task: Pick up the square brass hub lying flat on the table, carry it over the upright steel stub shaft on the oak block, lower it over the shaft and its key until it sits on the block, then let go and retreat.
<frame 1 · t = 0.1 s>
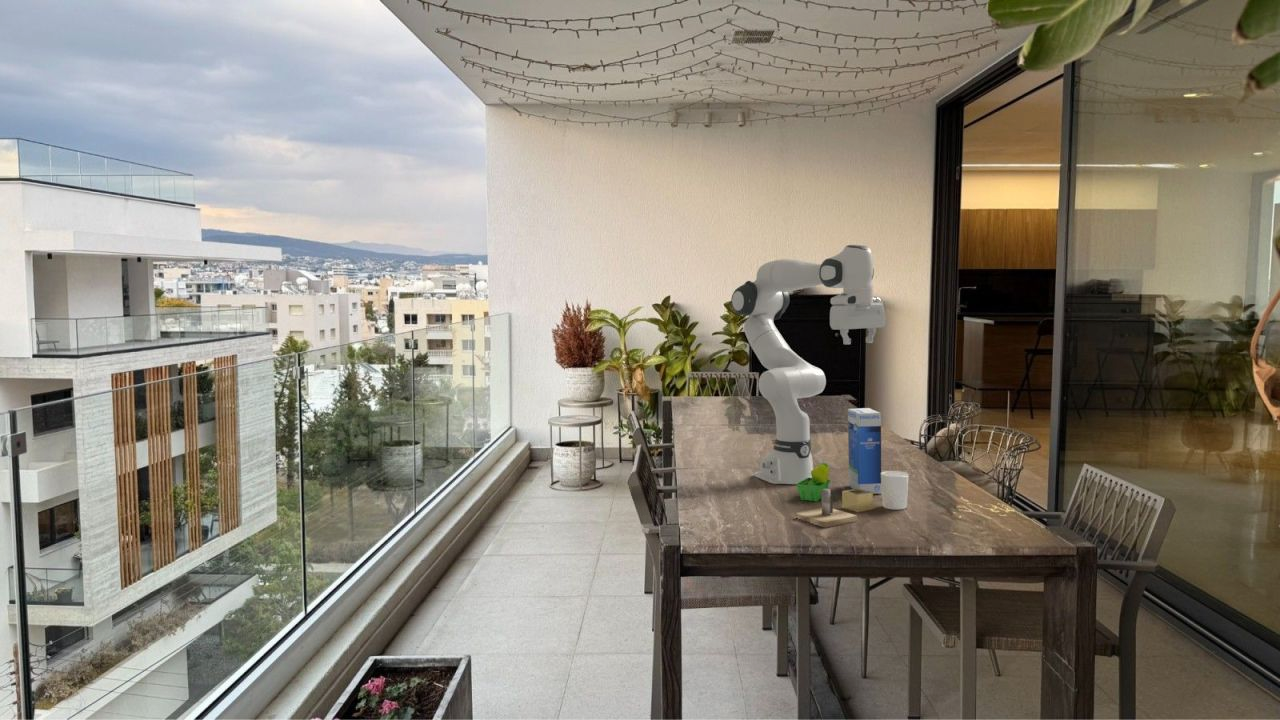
hand: (858, 343, 255), 48 cm above the table, tool pointing down, fingers open, 8 cm apart
shaft block: (826, 519, 234), on the table
hub: (857, 508, 246), on the table
string lights box: (864, 490, 269), on the table
white cup: (894, 507, 246), on the table
fruit basket: (815, 498, 260), on the table
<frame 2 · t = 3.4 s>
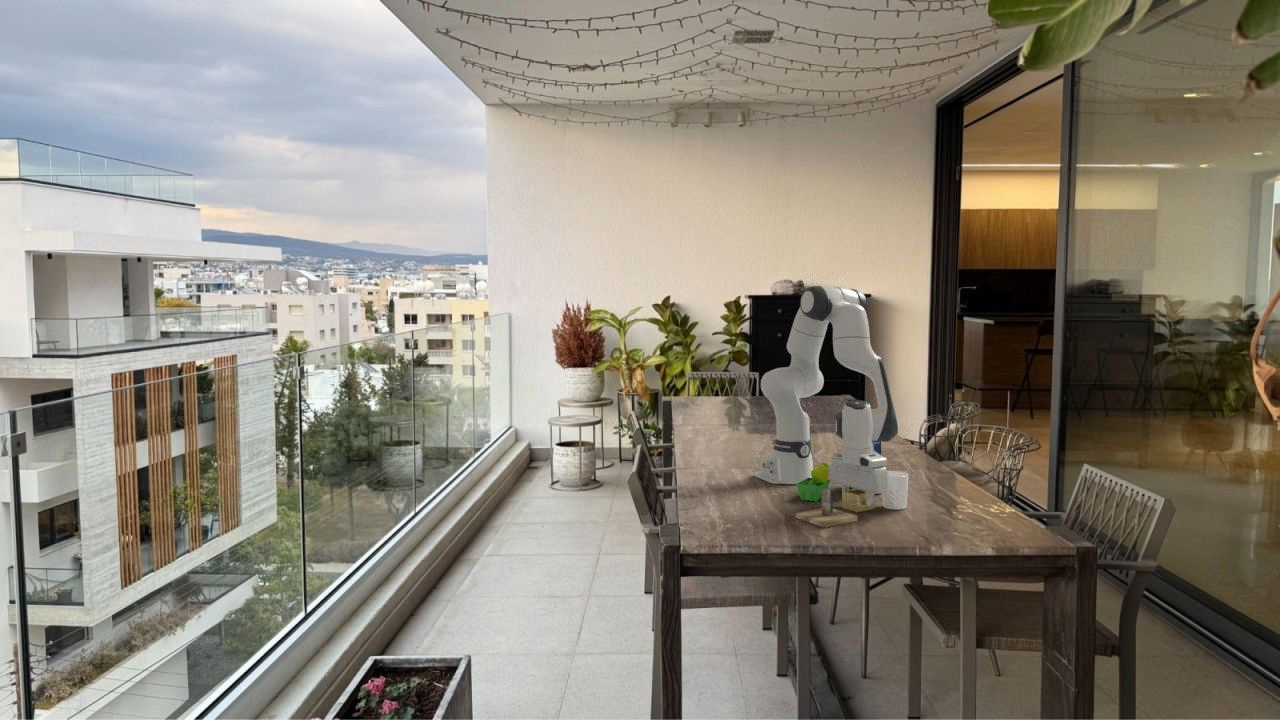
hand: (857, 502, 246), 2 cm above the table, tool pointing down, fingers closed on hub, 6 cm apart
hub: (857, 508, 246), on the table, touching gripper
everything else where it was.
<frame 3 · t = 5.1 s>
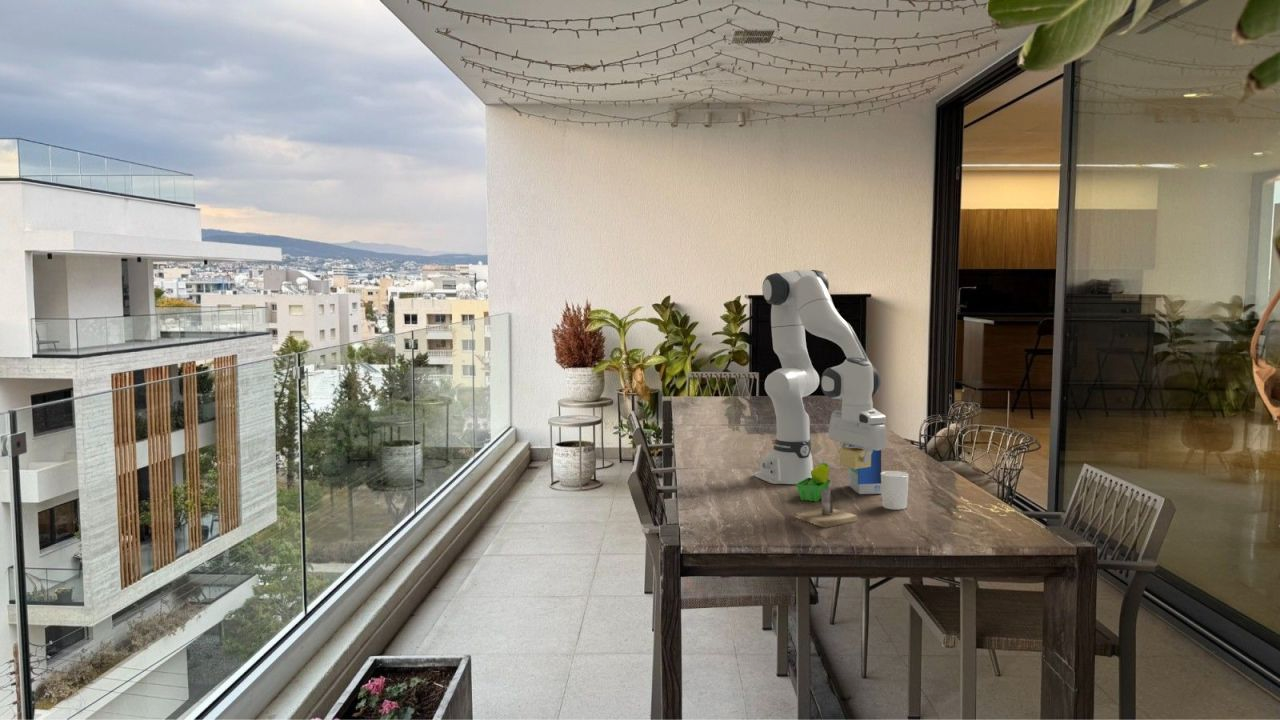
hand: (855, 460, 245), 14 cm above the table, tool pointing down, fingers closed on hub, 6 cm apart
hub: (855, 465, 245), point 13 cm above the table, touching gripper
everything else where it was.
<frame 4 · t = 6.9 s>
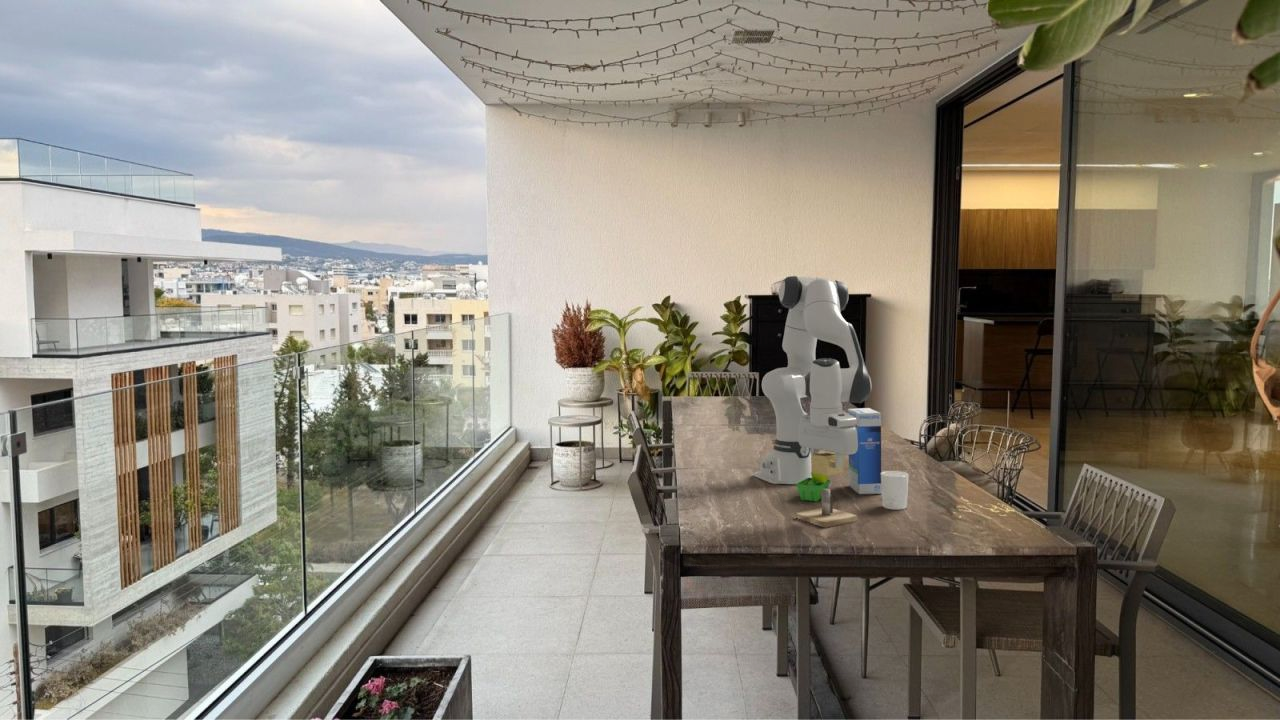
hand: (827, 466, 233), 15 cm above the table, tool pointing down, fingers closed on hub, 6 cm apart
hub: (827, 472, 233), point 13 cm above the table, touching gripper
everything else where it was.
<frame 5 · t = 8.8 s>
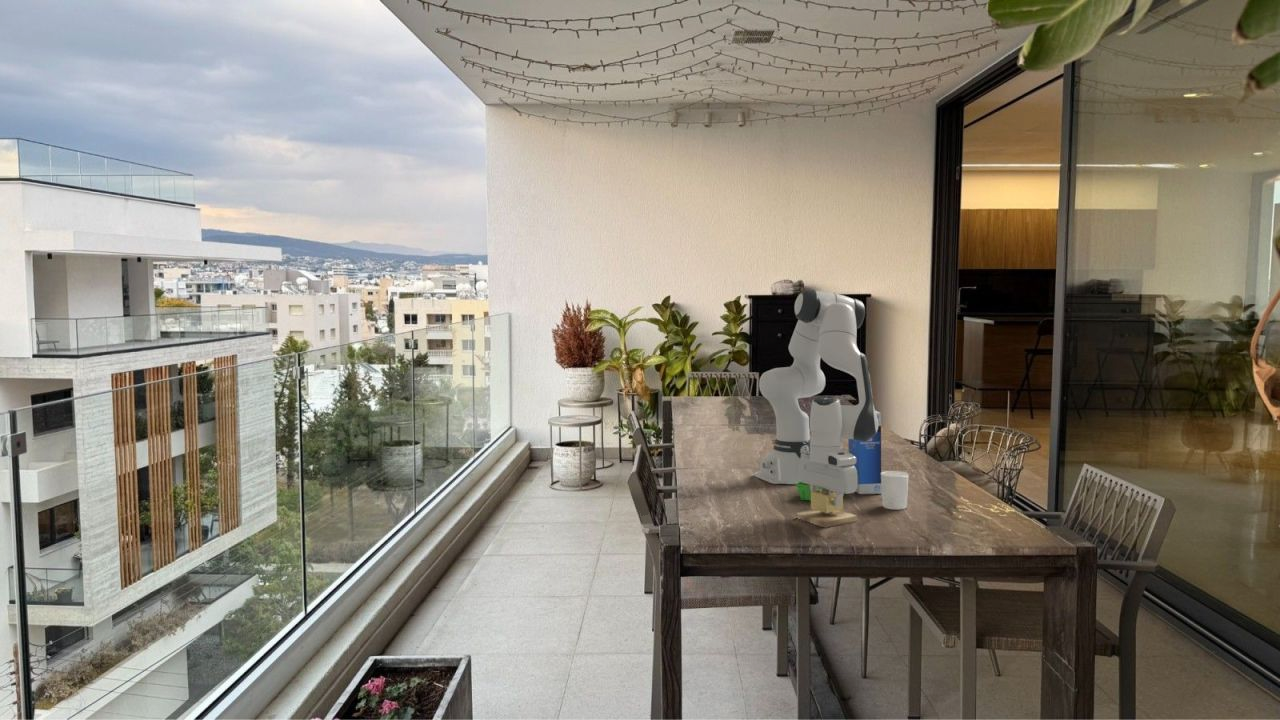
hand: (826, 503, 234), 5 cm above the table, tool pointing down, fingers closed on hub, 6 cm apart
hub: (826, 509, 234), point 3 cm above the table, touching gripper
everything else where it was.
when the fingers open (4 cm above the table, at t = 10.1 s): hub stays where it is, resting on shaft block.
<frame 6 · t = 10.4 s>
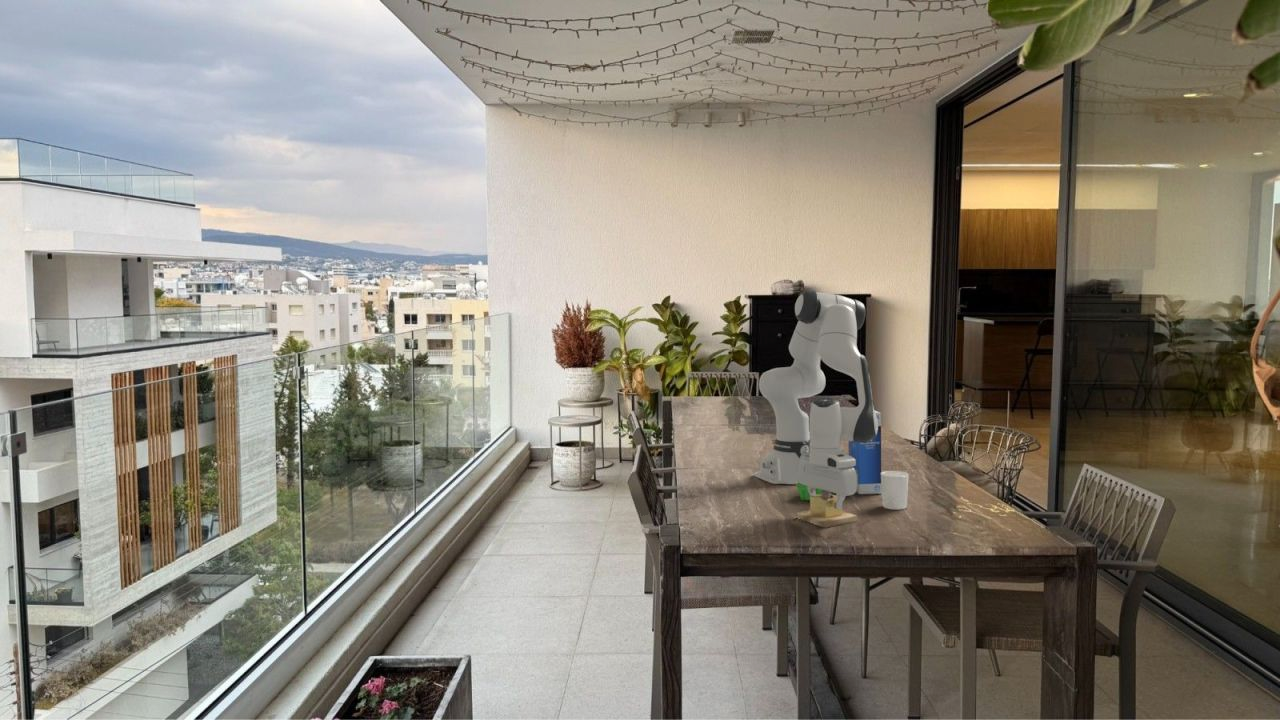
hand: (826, 505, 234), 4 cm above the table, tool pointing down, fingers open, 8 cm apart
hub: (826, 514, 234), point 1 cm above the table, touching shaft block
everything else where it was.
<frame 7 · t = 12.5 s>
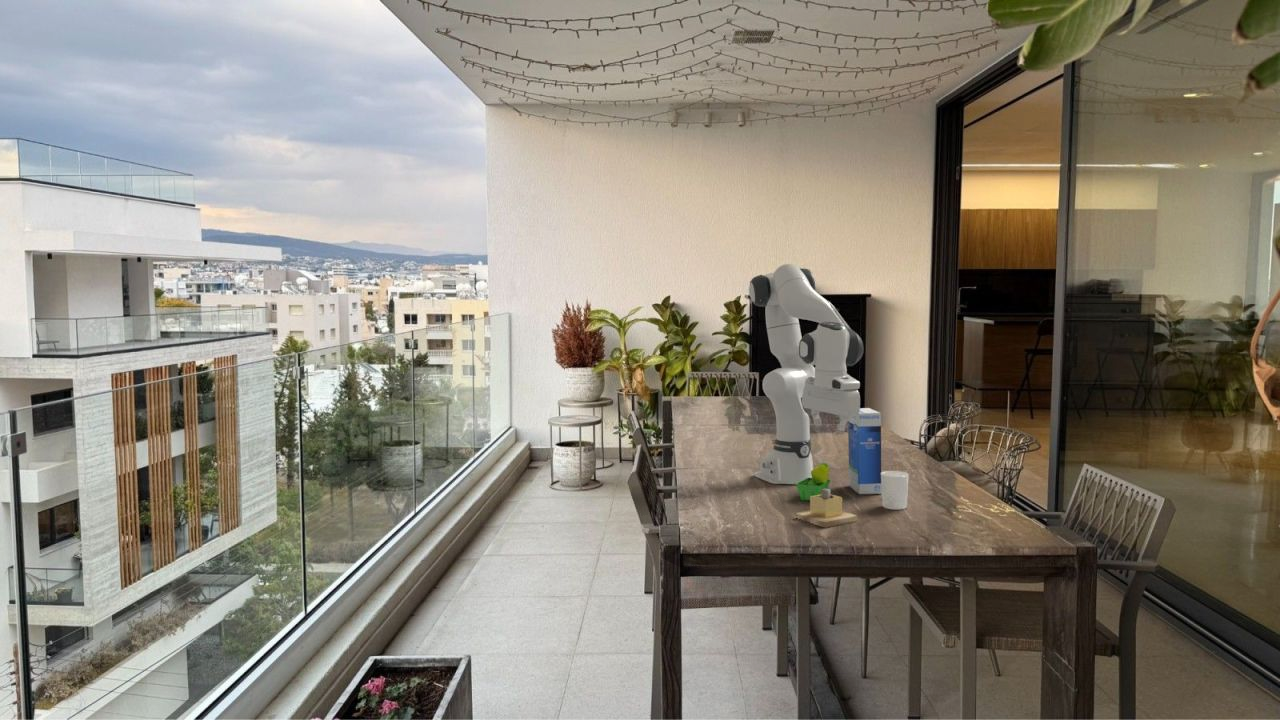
hand: (829, 428, 237), 25 cm above the table, tool pointing down, fingers open, 8 cm apart
nothing on the table moved.
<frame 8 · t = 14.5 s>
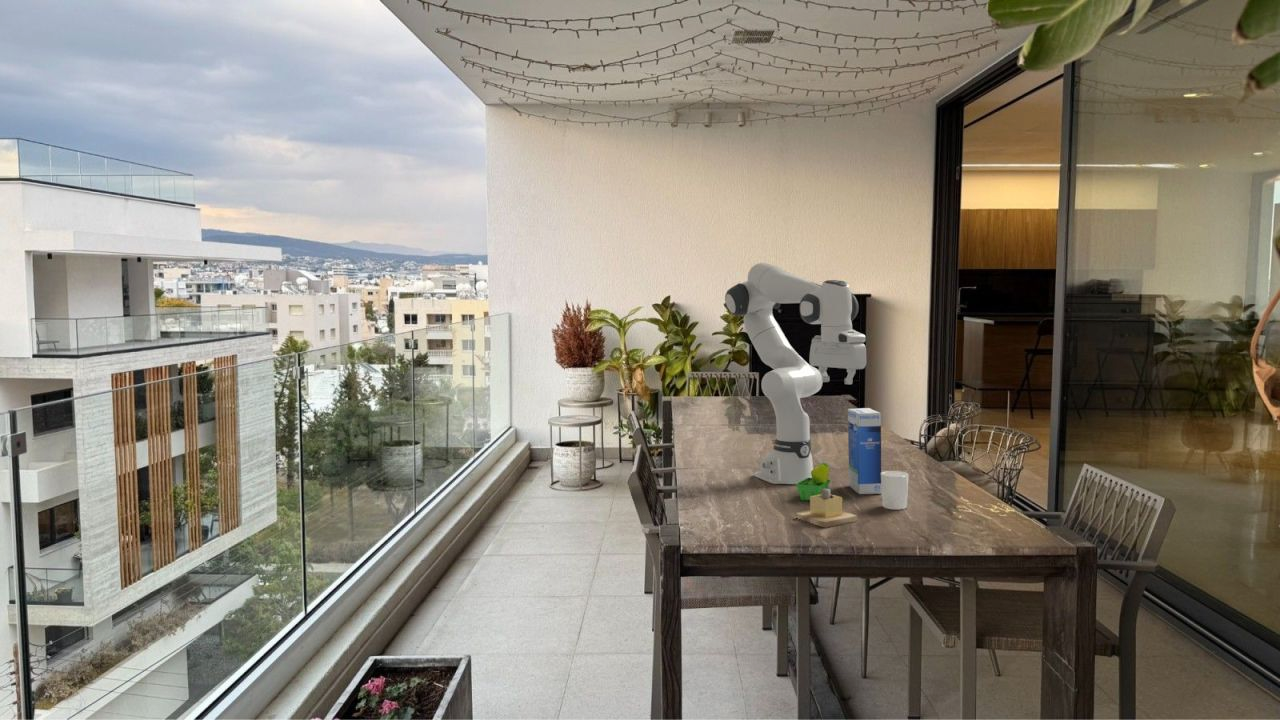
hand: (836, 383, 245), 37 cm above the table, tool pointing down, fingers open, 8 cm apart
nothing on the table moved.
at the end: hub 0.1 cm off-centre on the shaft block, point 1.5 cm above the shaft block's base; hub tilted 0°; the gripper is holding nothing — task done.
